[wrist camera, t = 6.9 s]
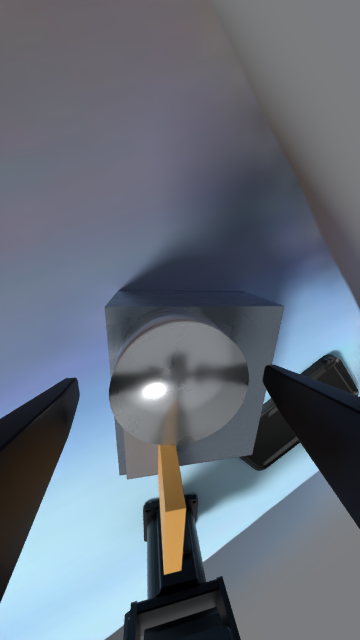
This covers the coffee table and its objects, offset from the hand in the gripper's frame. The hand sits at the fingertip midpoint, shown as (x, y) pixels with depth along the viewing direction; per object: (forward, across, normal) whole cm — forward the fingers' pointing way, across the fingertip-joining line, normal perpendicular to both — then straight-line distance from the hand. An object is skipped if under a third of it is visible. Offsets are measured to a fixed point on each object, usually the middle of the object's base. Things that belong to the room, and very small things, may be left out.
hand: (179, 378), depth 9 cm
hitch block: (+7, -2, +3) cm, 8 cm away
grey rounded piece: (+6, 0, 0) cm, 6 cm away
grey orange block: (+2, 0, +6) cm, 6 cm away
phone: (+8, -14, +11) cm, 20 cm away
